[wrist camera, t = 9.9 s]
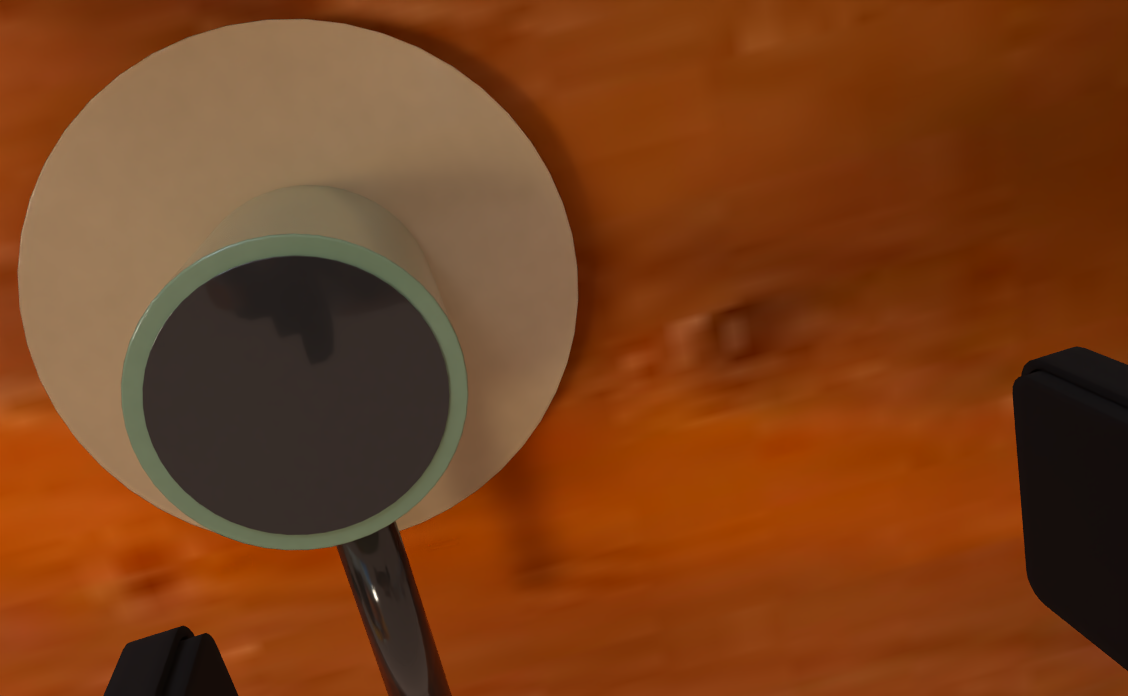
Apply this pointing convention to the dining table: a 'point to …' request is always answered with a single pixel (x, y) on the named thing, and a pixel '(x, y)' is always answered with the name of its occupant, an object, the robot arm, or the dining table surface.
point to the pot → (302, 297)
